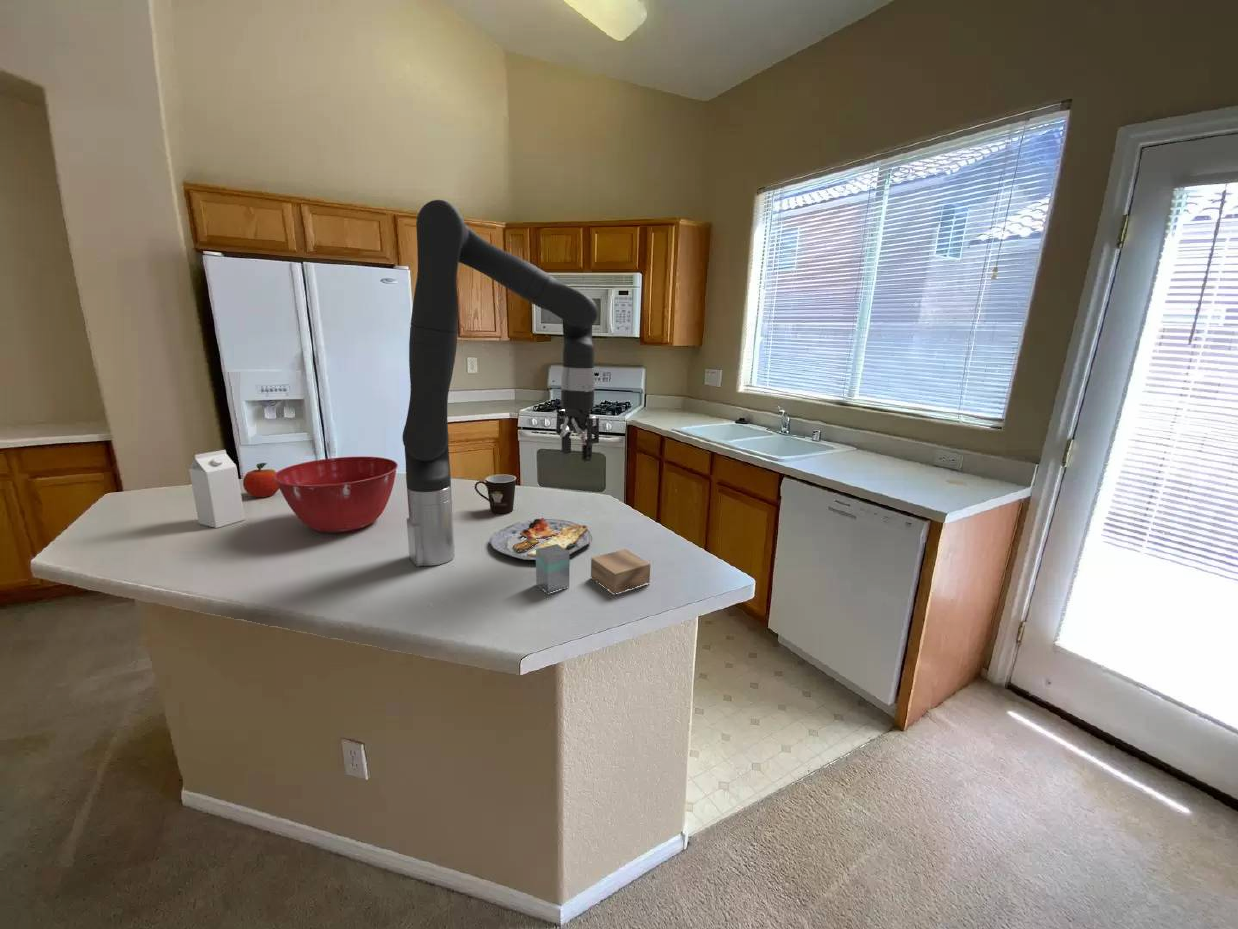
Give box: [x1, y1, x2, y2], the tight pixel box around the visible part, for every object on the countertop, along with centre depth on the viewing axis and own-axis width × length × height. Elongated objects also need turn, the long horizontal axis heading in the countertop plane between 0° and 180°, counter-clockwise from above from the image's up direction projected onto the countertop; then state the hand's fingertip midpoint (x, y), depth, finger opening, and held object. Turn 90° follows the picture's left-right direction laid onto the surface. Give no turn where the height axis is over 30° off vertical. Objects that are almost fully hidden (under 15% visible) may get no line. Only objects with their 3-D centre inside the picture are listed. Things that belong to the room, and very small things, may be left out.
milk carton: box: [188, 449, 246, 529], centre depth 131 cm, size 7×7×19 cm
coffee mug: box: [474, 474, 517, 516], centre depth 148 cm, size 12×9×10 cm
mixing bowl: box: [273, 456, 399, 534], centre depth 133 cm, size 28×28×15 cm
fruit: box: [242, 462, 280, 498], centre depth 154 cm, size 10×10×10 cm
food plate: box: [489, 517, 593, 561], centre depth 126 cm, size 25×23×4 cm
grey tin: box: [535, 544, 571, 594], centre depth 104 cm, size 5×5×8 cm
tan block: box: [590, 548, 651, 594], centre depth 107 cm, size 9×9×5 cm
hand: (576, 457), depth 118 cm, fingers open, 8 cm apart
